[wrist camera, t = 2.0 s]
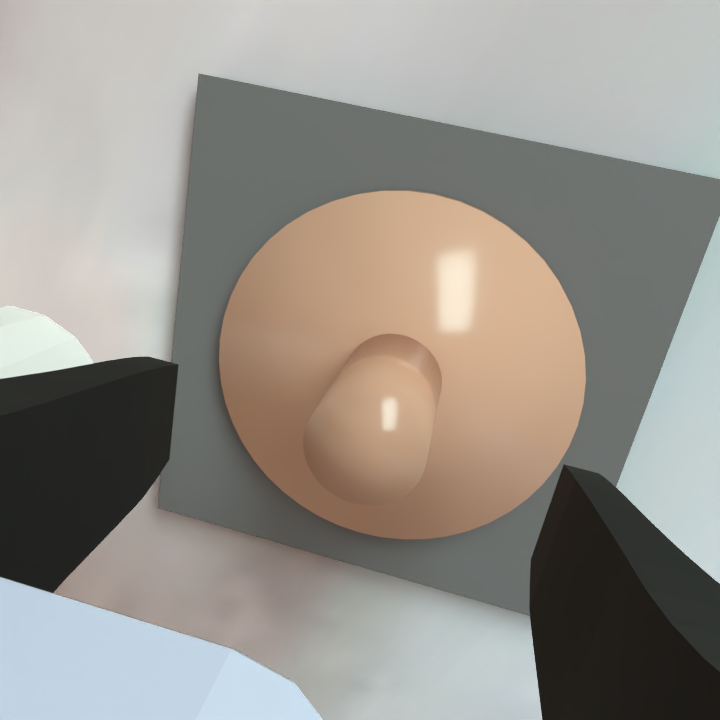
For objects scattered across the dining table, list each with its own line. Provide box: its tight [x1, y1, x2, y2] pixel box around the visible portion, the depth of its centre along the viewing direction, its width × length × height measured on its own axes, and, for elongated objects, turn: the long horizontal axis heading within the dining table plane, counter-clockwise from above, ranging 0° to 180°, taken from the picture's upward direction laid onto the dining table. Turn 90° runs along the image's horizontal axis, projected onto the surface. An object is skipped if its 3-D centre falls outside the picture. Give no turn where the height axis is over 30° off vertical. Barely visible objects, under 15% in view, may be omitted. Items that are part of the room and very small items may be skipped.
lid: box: [219, 190, 586, 539], centre depth 14 cm, size 9×9×4 cm
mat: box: [158, 74, 720, 616], centre depth 17 cm, size 12×12×1 cm
